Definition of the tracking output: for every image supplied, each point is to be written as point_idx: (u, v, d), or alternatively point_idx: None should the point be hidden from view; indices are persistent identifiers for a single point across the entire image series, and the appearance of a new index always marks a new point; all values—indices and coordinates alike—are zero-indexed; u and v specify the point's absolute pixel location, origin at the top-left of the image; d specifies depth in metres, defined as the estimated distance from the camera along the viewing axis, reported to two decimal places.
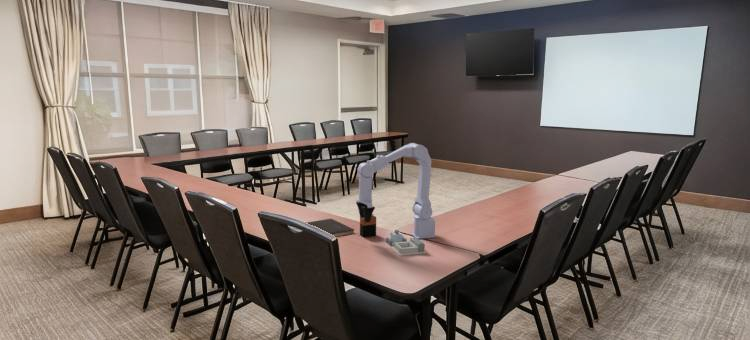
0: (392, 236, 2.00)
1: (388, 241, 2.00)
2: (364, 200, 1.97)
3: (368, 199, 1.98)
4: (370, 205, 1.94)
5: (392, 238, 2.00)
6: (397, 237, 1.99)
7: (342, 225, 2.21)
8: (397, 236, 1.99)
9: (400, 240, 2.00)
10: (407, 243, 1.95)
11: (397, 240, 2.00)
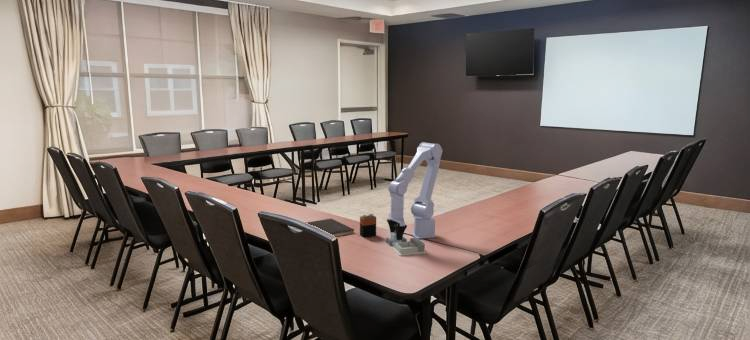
0: (392, 236, 2.00)
1: (388, 241, 2.00)
2: (396, 218, 1.97)
3: (400, 217, 1.97)
4: (403, 223, 1.93)
5: (392, 238, 2.00)
6: None
7: (342, 225, 2.21)
8: None
9: (400, 240, 2.00)
10: (407, 243, 1.95)
11: (397, 240, 2.00)
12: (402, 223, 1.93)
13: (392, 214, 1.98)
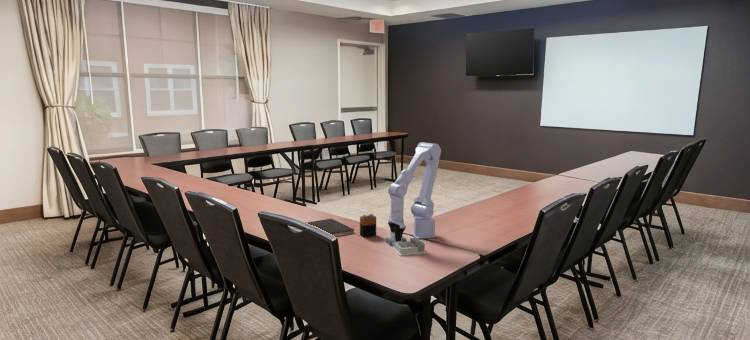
0: (392, 236, 2.00)
1: (388, 241, 2.00)
2: (396, 220, 1.97)
3: (400, 219, 1.98)
4: (403, 226, 1.93)
5: (392, 238, 2.00)
6: None
7: (342, 225, 2.21)
8: None
9: None
10: (407, 243, 1.95)
11: None
12: (402, 225, 1.93)
13: (392, 216, 1.98)
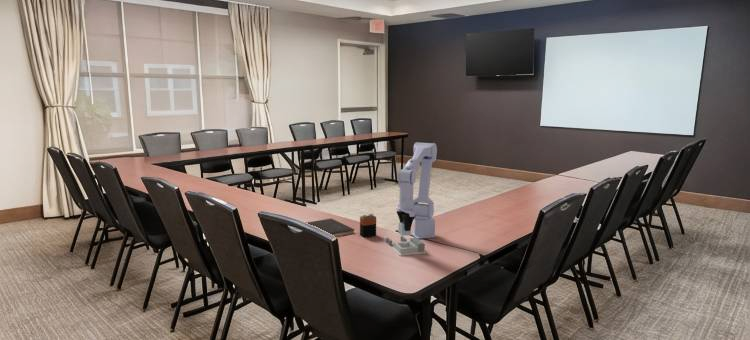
0: (400, 226, 1.89)
1: (388, 241, 2.00)
2: (405, 208, 1.86)
3: (410, 208, 1.86)
4: (412, 214, 1.82)
5: (400, 229, 1.89)
6: None
7: (342, 225, 2.21)
8: None
9: (409, 231, 1.89)
10: (407, 243, 1.95)
11: (405, 231, 1.88)
12: (412, 214, 1.82)
13: (401, 204, 1.87)
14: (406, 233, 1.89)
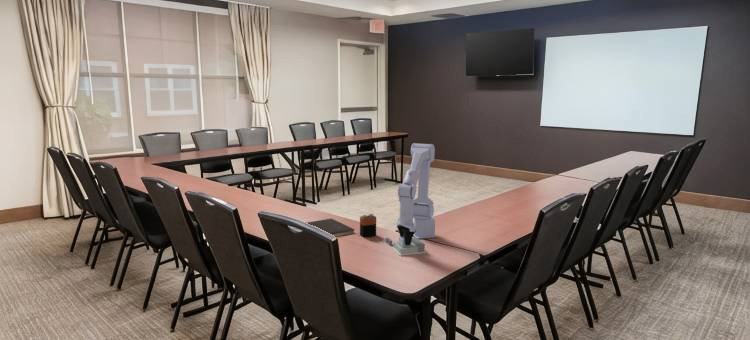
0: (400, 241, 1.90)
1: (388, 241, 2.00)
2: (406, 223, 1.86)
3: (410, 222, 1.87)
4: (413, 229, 1.83)
5: (400, 243, 1.90)
6: None
7: (342, 225, 2.21)
8: None
9: (409, 245, 1.89)
10: None
11: (406, 245, 1.89)
12: (412, 228, 1.83)
13: (401, 219, 1.87)
14: None
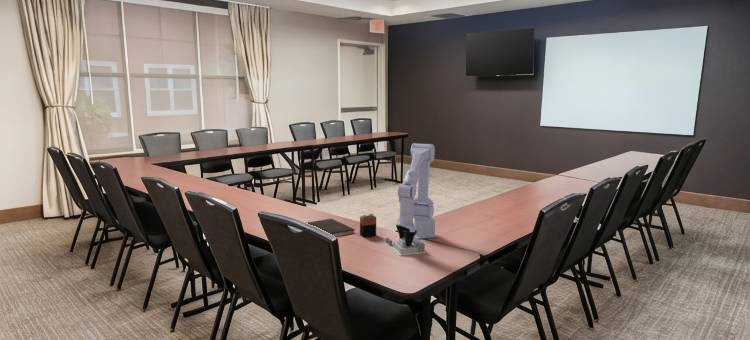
0: (400, 243, 1.90)
1: (388, 241, 2.00)
2: (406, 223, 1.87)
3: (410, 222, 1.87)
4: (413, 229, 1.83)
5: (400, 245, 1.90)
6: None
7: (342, 225, 2.21)
8: None
9: None
10: None
11: None
12: (412, 229, 1.83)
13: (401, 219, 1.87)
14: None
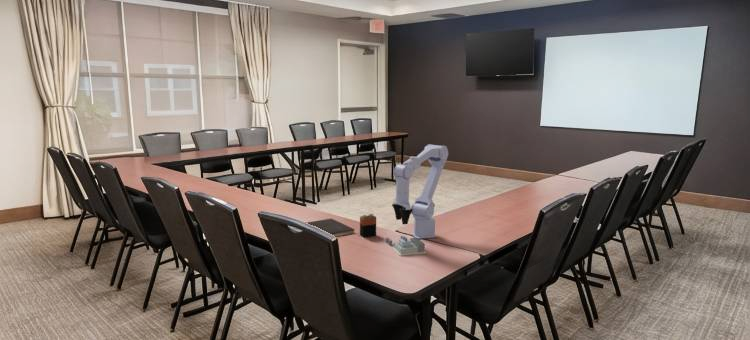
0: (400, 243, 1.90)
1: (388, 241, 2.00)
2: (402, 202, 1.95)
3: (406, 201, 1.96)
4: (408, 207, 1.92)
5: (400, 245, 1.90)
6: (406, 244, 1.89)
7: (342, 225, 2.21)
8: (406, 243, 1.89)
9: None
10: None
11: None
12: (408, 207, 1.92)
13: (397, 198, 1.96)
14: None
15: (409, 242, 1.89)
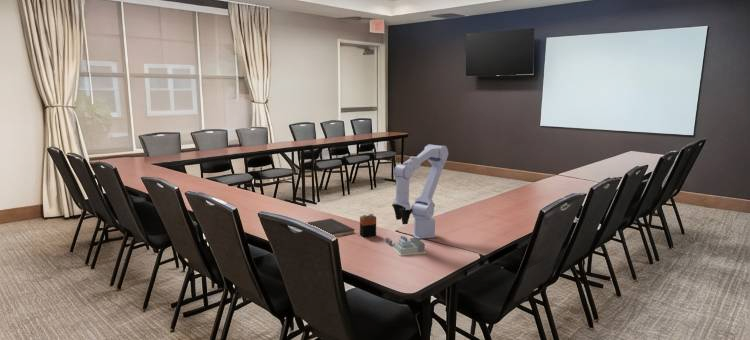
0: (400, 243, 1.90)
1: (388, 241, 2.00)
2: (402, 202, 1.95)
3: (406, 201, 1.96)
4: (408, 207, 1.92)
5: (400, 245, 1.90)
6: (406, 244, 1.89)
7: (342, 225, 2.21)
8: (406, 243, 1.89)
9: None
10: None
11: None
12: (408, 207, 1.92)
13: (397, 198, 1.96)
14: None
15: (409, 242, 1.89)
